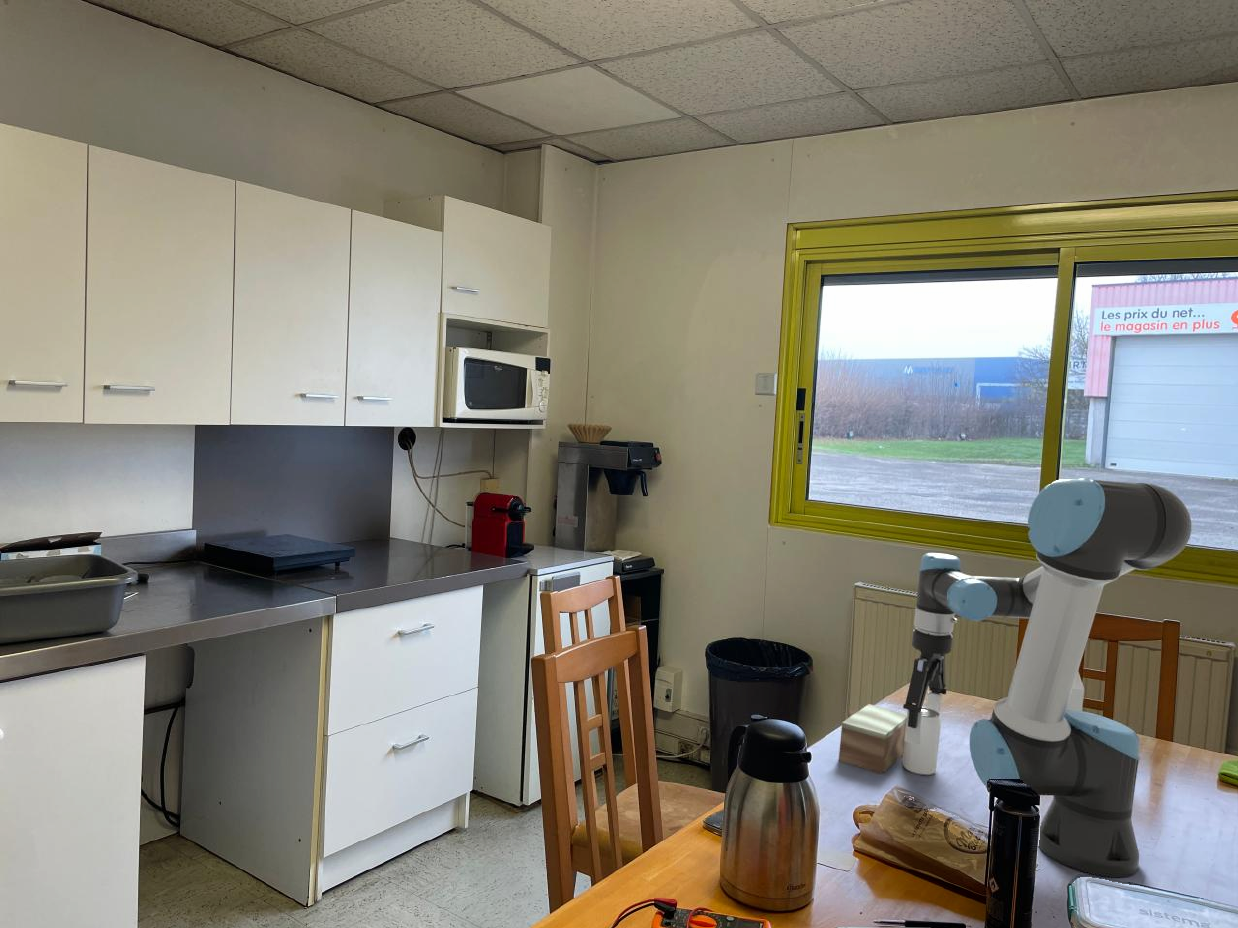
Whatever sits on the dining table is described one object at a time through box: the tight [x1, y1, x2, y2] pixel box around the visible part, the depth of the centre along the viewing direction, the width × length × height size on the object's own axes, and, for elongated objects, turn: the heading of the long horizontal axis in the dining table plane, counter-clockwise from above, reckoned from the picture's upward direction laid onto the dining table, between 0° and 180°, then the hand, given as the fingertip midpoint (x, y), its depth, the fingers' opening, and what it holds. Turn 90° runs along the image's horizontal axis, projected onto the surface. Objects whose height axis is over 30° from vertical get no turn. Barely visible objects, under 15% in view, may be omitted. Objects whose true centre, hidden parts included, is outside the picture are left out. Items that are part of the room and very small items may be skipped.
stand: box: [838, 703, 907, 774], centre depth 188 cm, size 16×9×8 cm, turn 145°
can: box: [902, 706, 942, 776], centre depth 182 cm, size 6×6×12 cm
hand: (921, 732), depth 182 cm, fingers open, 13 cm apart
